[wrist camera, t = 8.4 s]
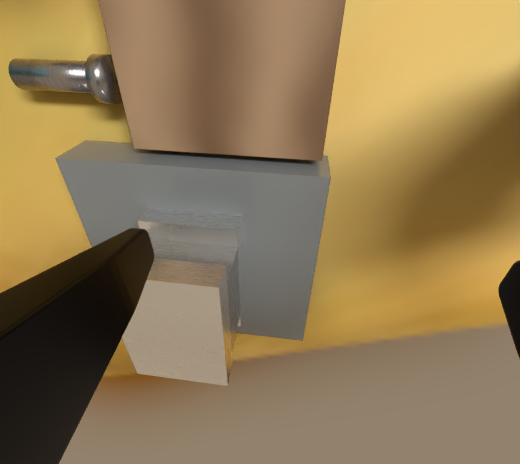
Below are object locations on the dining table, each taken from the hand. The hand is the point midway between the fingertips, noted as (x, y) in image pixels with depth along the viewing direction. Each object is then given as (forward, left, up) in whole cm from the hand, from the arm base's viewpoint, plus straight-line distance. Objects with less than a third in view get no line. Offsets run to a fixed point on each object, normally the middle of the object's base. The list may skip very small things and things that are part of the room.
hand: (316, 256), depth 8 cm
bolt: (+14, -2, -12) cm, 19 cm away
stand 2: (+7, +10, -12) cm, 17 cm away
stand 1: (+5, -4, -12) cm, 14 cm away
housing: (+7, +10, -9) cm, 15 cm away
